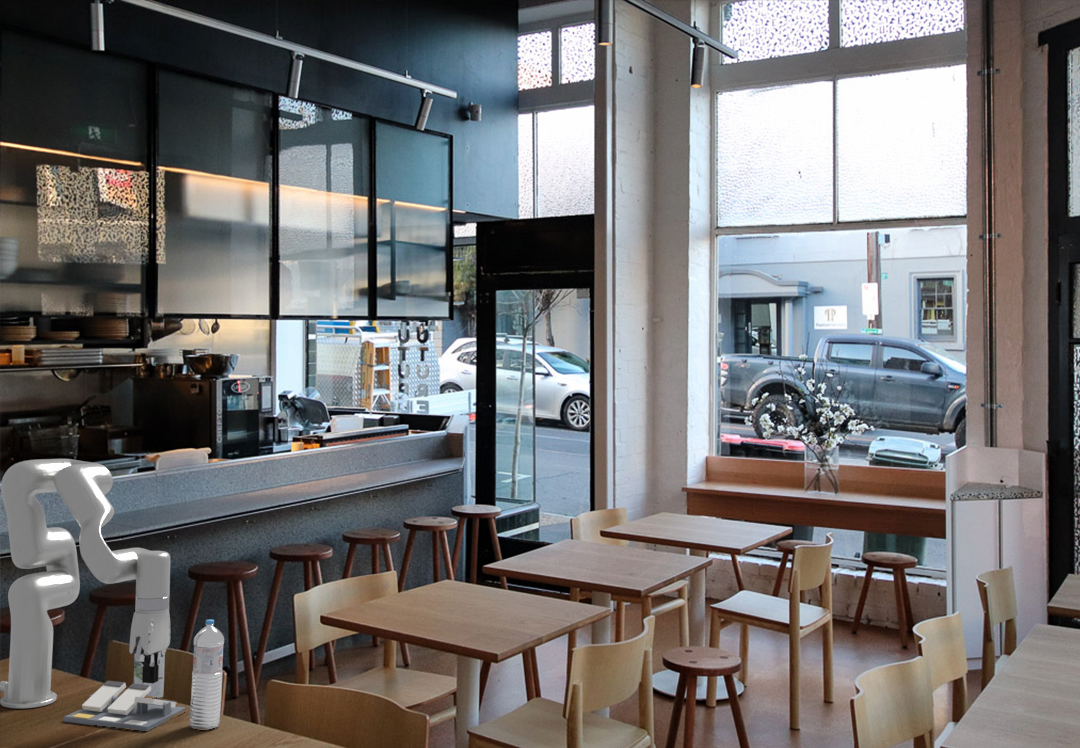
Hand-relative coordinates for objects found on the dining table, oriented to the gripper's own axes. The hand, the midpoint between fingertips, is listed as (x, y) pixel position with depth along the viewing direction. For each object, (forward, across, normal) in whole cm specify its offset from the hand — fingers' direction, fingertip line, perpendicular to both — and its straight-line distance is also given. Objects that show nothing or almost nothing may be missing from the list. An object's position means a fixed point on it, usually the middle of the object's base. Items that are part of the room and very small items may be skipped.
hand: (150, 682), depth 244 cm
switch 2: (+6, -4, -1) cm, 7 cm away
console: (+10, -3, -8) cm, 13 cm away
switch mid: (+6, -4, -8) cm, 10 cm away
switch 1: (+5, -4, -15) cm, 16 cm away
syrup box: (+10, -19, -13) cm, 25 cm away
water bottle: (+10, -3, +13) cm, 17 cm away
